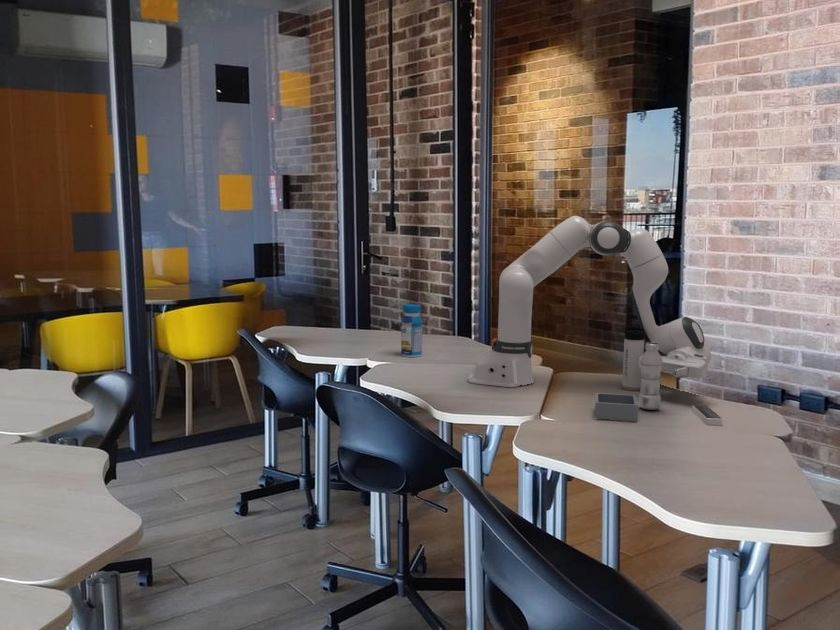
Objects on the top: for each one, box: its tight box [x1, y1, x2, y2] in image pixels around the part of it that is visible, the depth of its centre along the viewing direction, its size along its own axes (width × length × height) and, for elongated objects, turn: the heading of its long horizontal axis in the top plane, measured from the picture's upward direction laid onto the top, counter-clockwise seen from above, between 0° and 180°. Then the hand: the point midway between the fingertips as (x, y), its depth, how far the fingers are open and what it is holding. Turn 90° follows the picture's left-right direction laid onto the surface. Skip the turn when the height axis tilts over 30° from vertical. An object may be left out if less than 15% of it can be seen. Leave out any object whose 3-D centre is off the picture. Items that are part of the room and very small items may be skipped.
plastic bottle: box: [637, 342, 663, 411], centre depth 237 cm, size 6×7×20 cm
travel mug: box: [621, 326, 645, 391], centre depth 262 cm, size 6×7×20 cm
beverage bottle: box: [400, 303, 424, 358], centre depth 311 cm, size 8×8×20 cm
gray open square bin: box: [594, 392, 639, 422], centre depth 232 cm, size 12×12×5 cm
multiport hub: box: [691, 404, 723, 426], centre depth 230 cm, size 4×14×2 cm, turn 177°
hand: (660, 370), depth 242 cm, fingers open, 8 cm apart
